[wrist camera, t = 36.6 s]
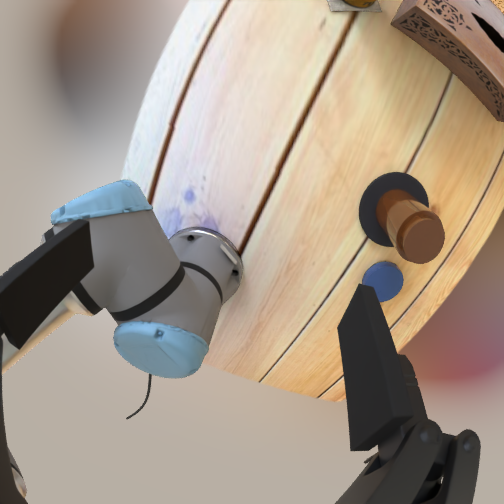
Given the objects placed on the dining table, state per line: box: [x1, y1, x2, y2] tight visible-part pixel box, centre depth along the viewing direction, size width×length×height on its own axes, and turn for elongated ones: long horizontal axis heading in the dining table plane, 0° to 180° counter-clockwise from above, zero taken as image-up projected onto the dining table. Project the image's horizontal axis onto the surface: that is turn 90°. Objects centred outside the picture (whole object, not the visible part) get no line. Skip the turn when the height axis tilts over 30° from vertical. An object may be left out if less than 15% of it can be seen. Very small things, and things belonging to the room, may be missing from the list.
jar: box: [376, 189, 445, 264], centre depth 35 cm, size 8×8×12 cm
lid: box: [362, 261, 403, 302], centre depth 46 cm, size 8×8×2 cm
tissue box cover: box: [391, 0, 504, 122], centre depth 19 cm, size 26×14×10 cm, turn 65°
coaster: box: [359, 172, 429, 247], centre depth 40 cm, size 13×13×1 cm
